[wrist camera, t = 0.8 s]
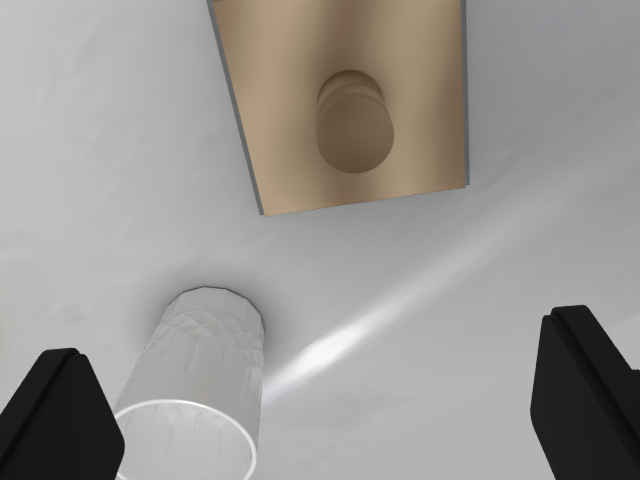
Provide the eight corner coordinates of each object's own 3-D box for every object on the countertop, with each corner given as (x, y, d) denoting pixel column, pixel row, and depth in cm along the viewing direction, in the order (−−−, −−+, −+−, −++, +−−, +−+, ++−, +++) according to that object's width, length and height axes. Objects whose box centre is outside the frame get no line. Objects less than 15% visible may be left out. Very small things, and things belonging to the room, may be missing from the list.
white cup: (254, 380, 38) (233, 514, 29) (145, 352, 36) (90, 483, 28) (288, 298, 34) (276, 423, 25) (168, 263, 33) (112, 382, 24)
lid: (453, -44, 24) (491, -36, 18) (459, 178, 29) (490, 233, 24) (217, -1, 25) (187, 18, 19) (266, 206, 30) (254, 265, 25)
